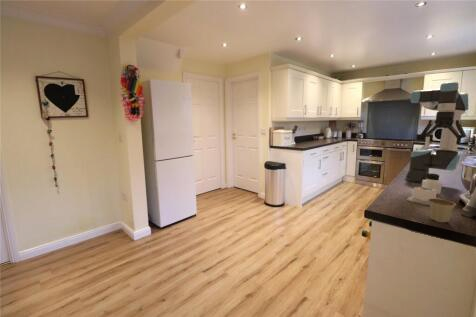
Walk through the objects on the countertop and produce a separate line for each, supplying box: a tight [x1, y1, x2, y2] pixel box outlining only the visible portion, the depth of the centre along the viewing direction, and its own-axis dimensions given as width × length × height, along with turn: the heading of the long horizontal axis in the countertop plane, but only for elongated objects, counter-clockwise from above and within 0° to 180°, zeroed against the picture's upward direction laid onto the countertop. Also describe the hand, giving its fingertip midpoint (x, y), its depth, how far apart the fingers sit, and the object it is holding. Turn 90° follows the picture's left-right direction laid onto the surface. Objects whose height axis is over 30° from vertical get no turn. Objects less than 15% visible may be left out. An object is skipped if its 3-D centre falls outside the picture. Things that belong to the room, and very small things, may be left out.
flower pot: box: [428, 197, 457, 223], centre depth 105 cm, size 9×9×9 cm
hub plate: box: [406, 189, 442, 207], centre depth 130 cm, size 16×12×6 cm
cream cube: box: [412, 186, 437, 201], centre depth 129 cm, size 7×7×7 cm
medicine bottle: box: [421, 172, 443, 195], centre depth 145 cm, size 7×7×12 cm
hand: (440, 148), depth 133 cm, fingers open, 13 cm apart
